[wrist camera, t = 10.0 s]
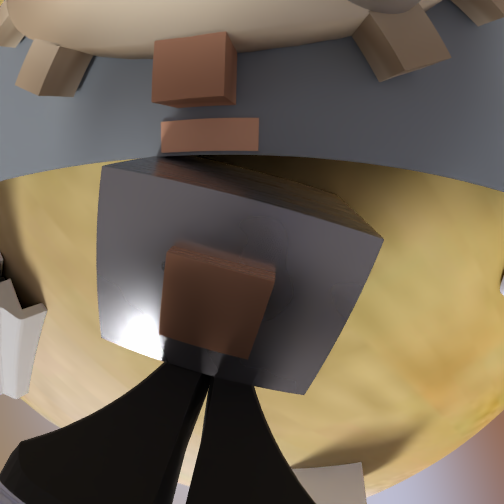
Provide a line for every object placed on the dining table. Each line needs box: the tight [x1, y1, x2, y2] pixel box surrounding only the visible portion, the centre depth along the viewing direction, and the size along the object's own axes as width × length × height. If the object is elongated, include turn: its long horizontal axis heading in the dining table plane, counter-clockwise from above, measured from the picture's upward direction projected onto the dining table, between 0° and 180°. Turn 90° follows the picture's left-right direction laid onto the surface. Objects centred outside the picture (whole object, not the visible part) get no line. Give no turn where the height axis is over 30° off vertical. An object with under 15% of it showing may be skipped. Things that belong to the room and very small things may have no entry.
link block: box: [97, 155, 384, 395], centre depth 7 cm, size 5×4×4 cm
